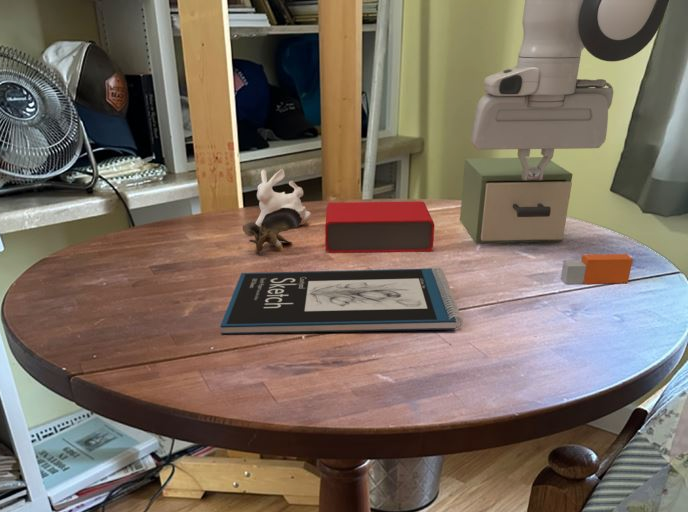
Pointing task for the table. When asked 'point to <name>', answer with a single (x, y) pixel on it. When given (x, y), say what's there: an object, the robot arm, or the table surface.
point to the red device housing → (378, 227)
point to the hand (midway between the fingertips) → (531, 179)
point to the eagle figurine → (273, 227)
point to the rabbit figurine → (279, 198)
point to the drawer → (525, 210)
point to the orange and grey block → (597, 269)
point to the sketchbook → (341, 302)
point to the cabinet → (496, 170)
